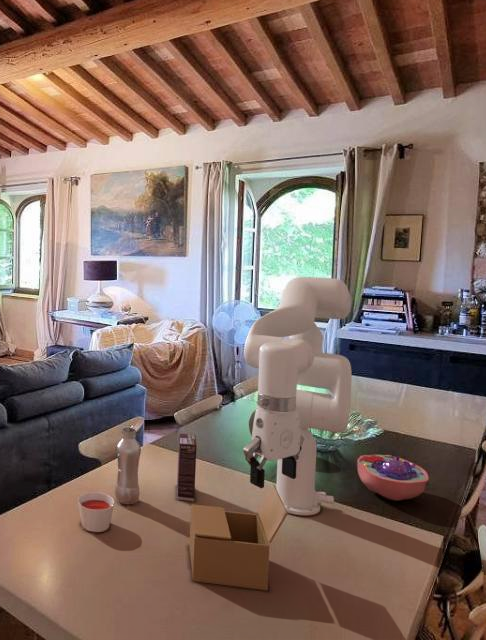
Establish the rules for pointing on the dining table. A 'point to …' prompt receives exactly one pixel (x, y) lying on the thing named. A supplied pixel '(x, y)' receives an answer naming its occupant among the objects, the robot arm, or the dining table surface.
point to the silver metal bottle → (128, 467)
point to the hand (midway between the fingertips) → (273, 480)
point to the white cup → (95, 511)
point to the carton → (228, 548)
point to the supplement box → (186, 467)
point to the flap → (272, 513)
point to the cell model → (391, 476)
